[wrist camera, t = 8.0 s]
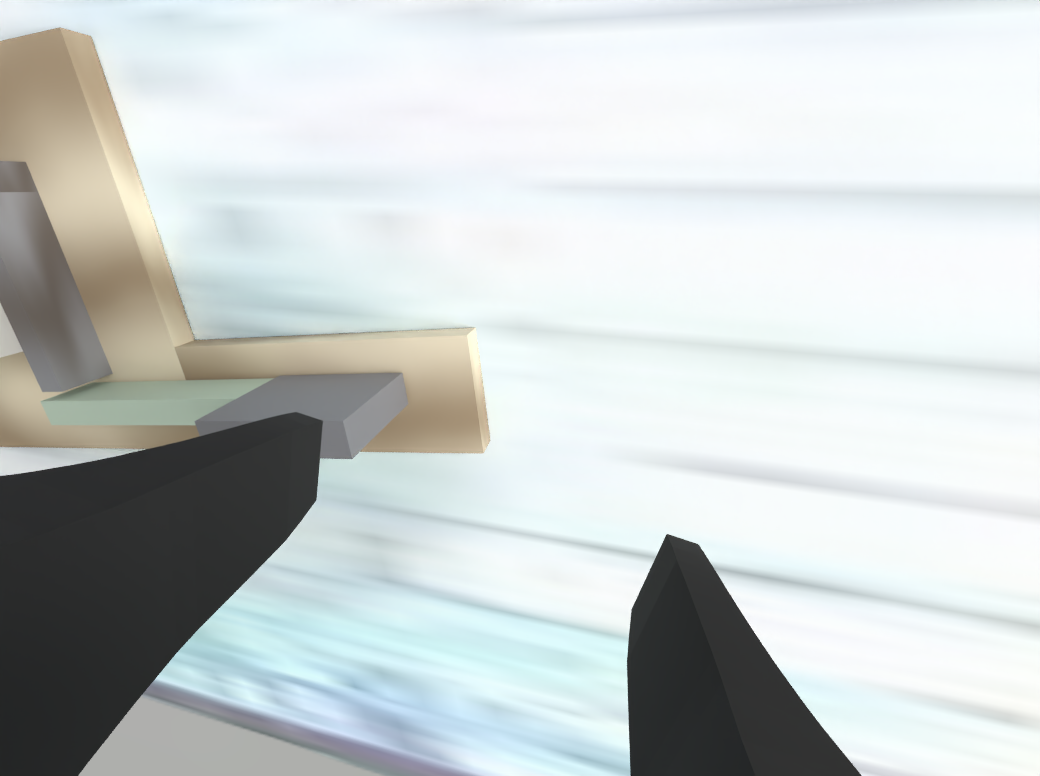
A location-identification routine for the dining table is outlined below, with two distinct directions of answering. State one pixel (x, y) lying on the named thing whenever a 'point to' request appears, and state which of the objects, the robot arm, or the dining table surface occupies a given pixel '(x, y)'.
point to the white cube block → (7, 337)
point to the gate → (243, 405)
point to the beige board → (152, 282)
